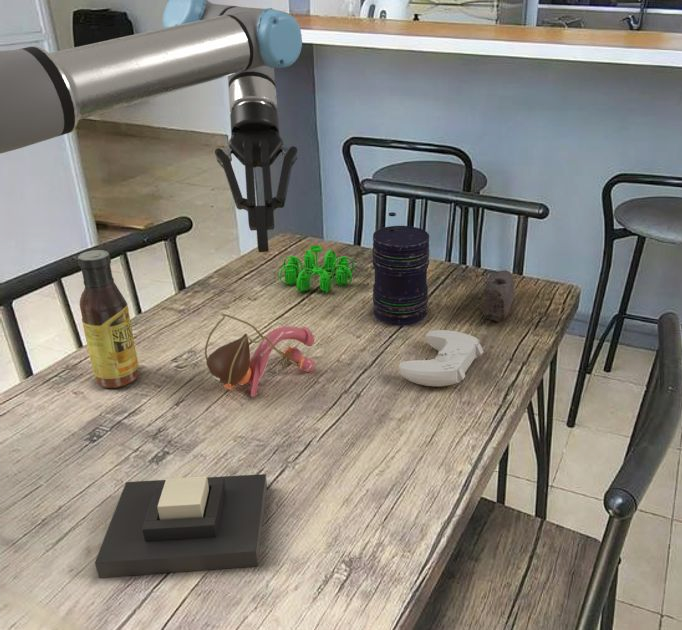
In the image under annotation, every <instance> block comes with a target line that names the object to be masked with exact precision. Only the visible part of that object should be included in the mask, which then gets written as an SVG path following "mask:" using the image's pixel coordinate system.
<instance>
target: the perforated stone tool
mask: <svg viewBox="0 0 682 630" xmlns="http://www.w3.org/2000/svg"><path fill="white" fill-rule="evenodd" d="M483 292H484V300H483V301H482V303H481V304H480V308H481V311H482V313H483V316H484V318H486V319H488V320H489V321H495V322H497V323H501V322H504V320H505V319H506V318H507V317H508V314H509V313H510V310H511V306H512V305H513V301H514V294H515V282H514V277H513V275H512V273H511V271H509V270H506V269H503V270H502V269H501V270H499V271H498V272H497V271H496V273H495V274H493V275H492V277H491V278H489V280H488V281H487V283H486V285H485V287H484V288H483Z"/></svg>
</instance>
